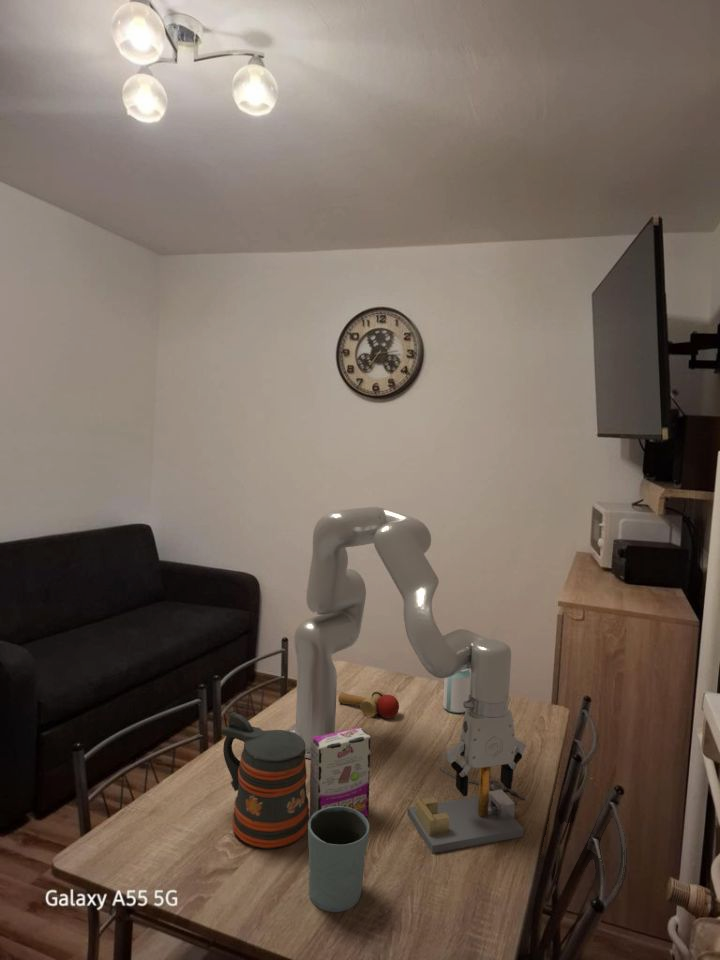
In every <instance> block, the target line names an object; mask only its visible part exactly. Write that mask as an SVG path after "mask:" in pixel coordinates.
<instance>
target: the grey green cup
mask: <svg viewBox="0 0 720 960" xmlns="http://www.w3.org/2000/svg"><path fill="white" fill-rule="evenodd" d="M307 835H308V836H307V840H308V841H307V845H308V847H307V848H308V854H309V855H308V859H309V860H308V869H309V872H308V893H309V894H308V895H309V899H310V900H311V902H312V903H313V904H314V905H315V907H317V908H318V909H320V910H322V911H326V912H329V913H340V912H344V911H348V910H350V909H352V908H353V907H354V906H356V905H357V904H358V902H359V901H360V898H361V894H362V888H363V879H364V871H365V869H364V868H365V862H366V860H365V856H366V854H367V847H368V842H369V837H370V836H369V835H370V823H369V821H368V819H367V818H366V816H364V815H363V814H361V813H360V812H358V811H357V810H354V809H352V808H348V807H343V806H332V807H326V808H323V809H321V810H319V811H317V812H315V813H314V814H313V815H312V816H311V818H310V817H309V822H308V829H307Z"/></svg>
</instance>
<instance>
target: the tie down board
mask: <svg viewBox="0 0 720 960" xmlns="http://www.w3.org/2000/svg"><path fill="white" fill-rule="evenodd" d="M478 797H479V795H477V796H472V797H466V798H459V799H453V800H452V799H451V800H445V801H440V802H439V801H438V813H437V814H440V813H447V815H448V816H449V817H450V818H449V833H444V834H439V835H433V836H429V835H428V834H427V832H426V831H425V829H424V827H423V826H422V824H421V823H420V821H419V820H418V818H417V817H416V815H415V810H416V805H415V806H408V807H407V817H408V819H409V820H410V821H411V823H412V824H413V825H414V827H415V829H416V830H417V832H418V834H419V835H420V837H421V839H423V841H424V843H425V844H426V846H427V848H428V849H429V851H430V852H431V854H436V853H441V852H447V851H454V850H458V849H462V848H463V849H465V848H469V847H475V846H479V845H485V844H489V843H496V842H502V841H507V840H513V839H517V838H518V839H519V838H523V837H524V829H525V828H523V826H521V824H520V823H519V822H518V821H517V820H516V818H515V817H514V818H512V819H507V820H501V821H500V819H499V818H498V817H497V814H493V813H492V814H491V815H488V816H486V817H482V816H479V815H478Z"/></svg>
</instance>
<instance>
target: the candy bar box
mask: <svg viewBox="0 0 720 960" xmlns="http://www.w3.org/2000/svg"><path fill="white" fill-rule="evenodd" d="M370 765H371V736H370V735H369V734H368V733H367V731H365V730H364V729H363V727H360V726H359V727H354V728H350V729H349V728H348V729H344V730H340V731H335V733H330V734H326V735H321V736H317V737H312V738H311V759H310V766H309V767H310V770H309V771H310V773H309V774H310V777H309V819H310V818H311V816H312V815H313V814H314V813H315V812H317V811H319V810H321V809H323V808H326V807H332V806H343V807H348V808H352V809H354V810H357V811H358V812H360V813H361V814H363V815H364V817H367V816H369V814H370V813H369V810H370V773H371V772H370V771H371V766H370Z"/></svg>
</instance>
